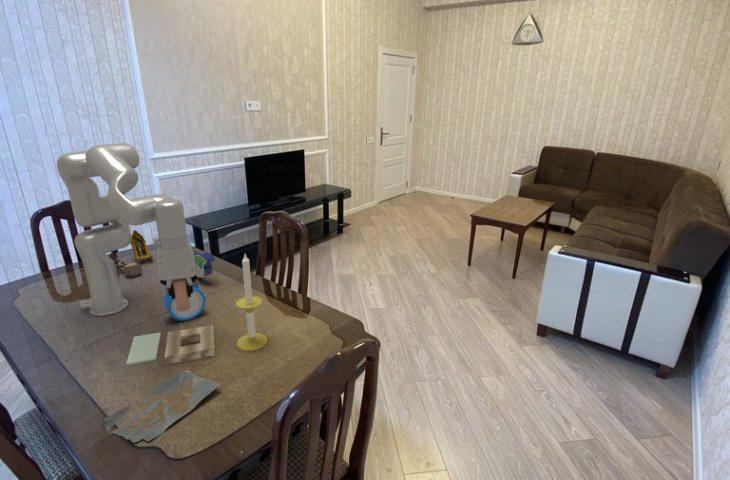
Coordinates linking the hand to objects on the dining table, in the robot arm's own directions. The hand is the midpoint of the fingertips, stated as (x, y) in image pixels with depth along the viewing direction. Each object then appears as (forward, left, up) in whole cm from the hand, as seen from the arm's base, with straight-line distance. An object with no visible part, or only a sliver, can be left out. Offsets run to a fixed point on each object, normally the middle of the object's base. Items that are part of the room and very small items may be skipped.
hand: (181, 295), depth 121 cm
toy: (-28, +70, -19) cm, 78 cm away
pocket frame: (+1, 0, -19) cm, 19 cm away
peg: (0, 0, -4) cm, 4 cm away
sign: (-1, +57, -19) cm, 60 cm away
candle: (+20, -3, -19) cm, 28 cm away
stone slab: (-5, -25, -20) cm, 33 cm away
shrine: (-23, +83, -19) cm, 88 cm away
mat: (-13, +4, -19) cm, 24 cm away
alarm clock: (-1, +21, -19) cm, 28 cm away
